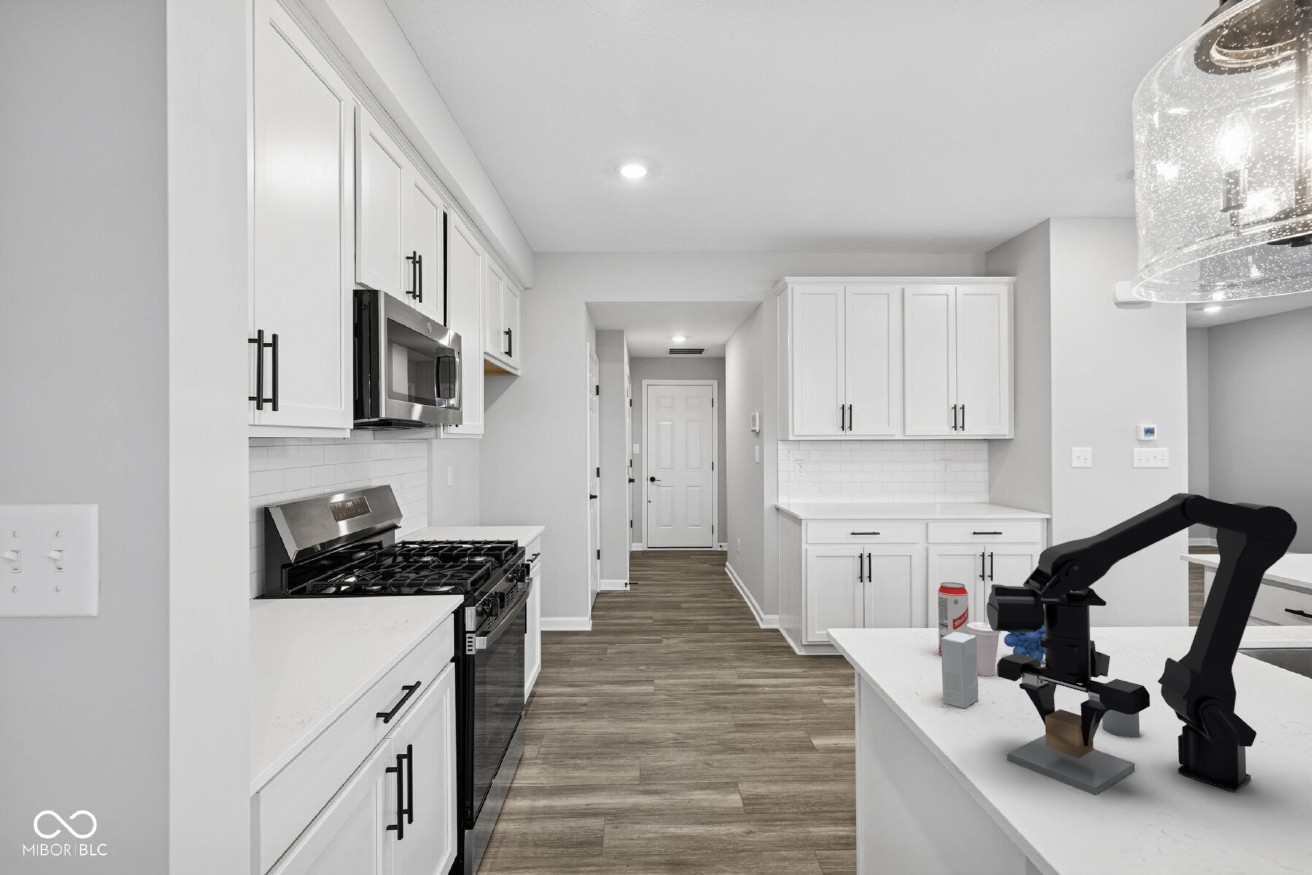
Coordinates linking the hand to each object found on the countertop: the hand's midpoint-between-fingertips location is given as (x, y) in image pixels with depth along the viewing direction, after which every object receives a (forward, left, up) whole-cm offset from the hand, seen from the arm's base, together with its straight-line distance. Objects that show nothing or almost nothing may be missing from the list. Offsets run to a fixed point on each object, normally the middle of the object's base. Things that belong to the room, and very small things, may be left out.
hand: (1069, 739), depth 96 cm
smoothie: (+29, -27, -4) cm, 40 cm away
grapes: (+27, -43, -4) cm, 51 cm away
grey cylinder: (+1, -19, -4) cm, 19 cm away
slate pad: (0, 0, -4) cm, 4 cm away
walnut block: (0, 0, -1) cm, 1 cm away
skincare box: (+23, -9, -4) cm, 25 cm away
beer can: (+39, -32, -4) cm, 51 cm away
